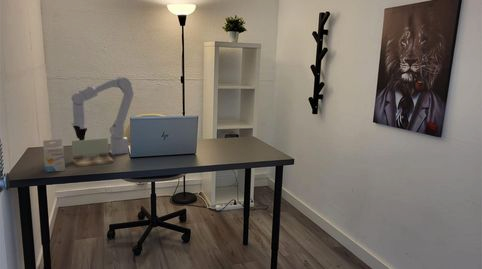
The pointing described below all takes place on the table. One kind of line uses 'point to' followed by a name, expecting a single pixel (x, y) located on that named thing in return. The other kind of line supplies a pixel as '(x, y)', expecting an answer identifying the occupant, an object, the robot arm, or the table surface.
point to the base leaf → (92, 160)
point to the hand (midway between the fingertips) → (80, 139)
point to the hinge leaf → (90, 147)
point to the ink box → (53, 155)
